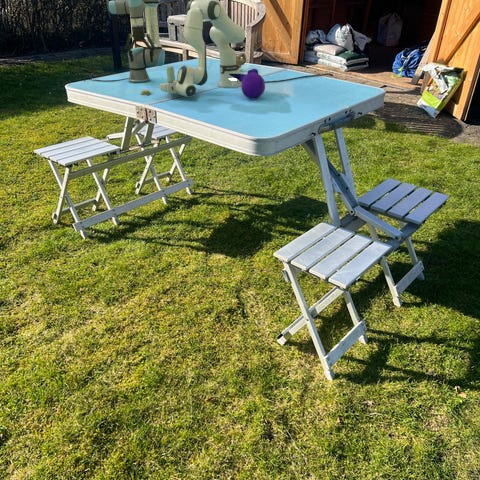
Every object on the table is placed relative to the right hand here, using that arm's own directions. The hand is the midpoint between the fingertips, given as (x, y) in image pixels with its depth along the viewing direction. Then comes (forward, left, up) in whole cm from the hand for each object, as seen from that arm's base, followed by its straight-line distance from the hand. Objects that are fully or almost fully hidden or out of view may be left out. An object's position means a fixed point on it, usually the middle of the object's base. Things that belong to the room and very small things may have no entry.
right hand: (171, 83), depth 298 cm
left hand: (+15, -10, +14) cm, 22 cm away
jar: (0, +1, -7) cm, 7 cm away
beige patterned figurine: (-77, -46, -7) cm, 90 cm away
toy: (-36, +39, -7) cm, 54 cm away
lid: (+15, -9, -5) cm, 18 cm away
